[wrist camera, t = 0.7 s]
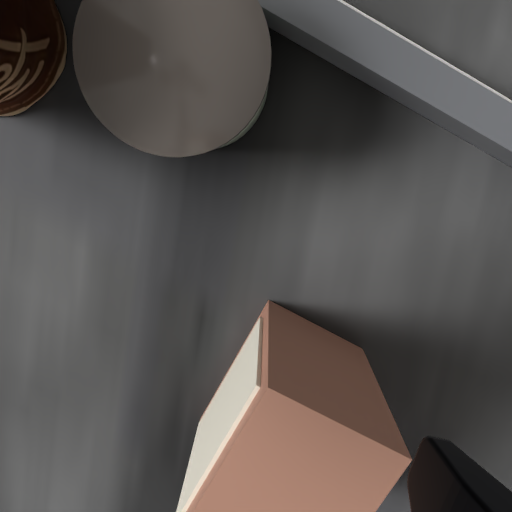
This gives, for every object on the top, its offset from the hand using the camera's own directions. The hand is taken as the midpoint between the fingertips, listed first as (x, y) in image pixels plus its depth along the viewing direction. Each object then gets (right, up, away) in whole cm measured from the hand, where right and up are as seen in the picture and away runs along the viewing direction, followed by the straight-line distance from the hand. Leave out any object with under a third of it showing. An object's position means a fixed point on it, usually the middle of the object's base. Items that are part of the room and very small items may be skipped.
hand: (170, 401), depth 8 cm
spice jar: (-1, +10, +11) cm, 15 cm away
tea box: (+3, -4, +14) cm, 15 cm away
